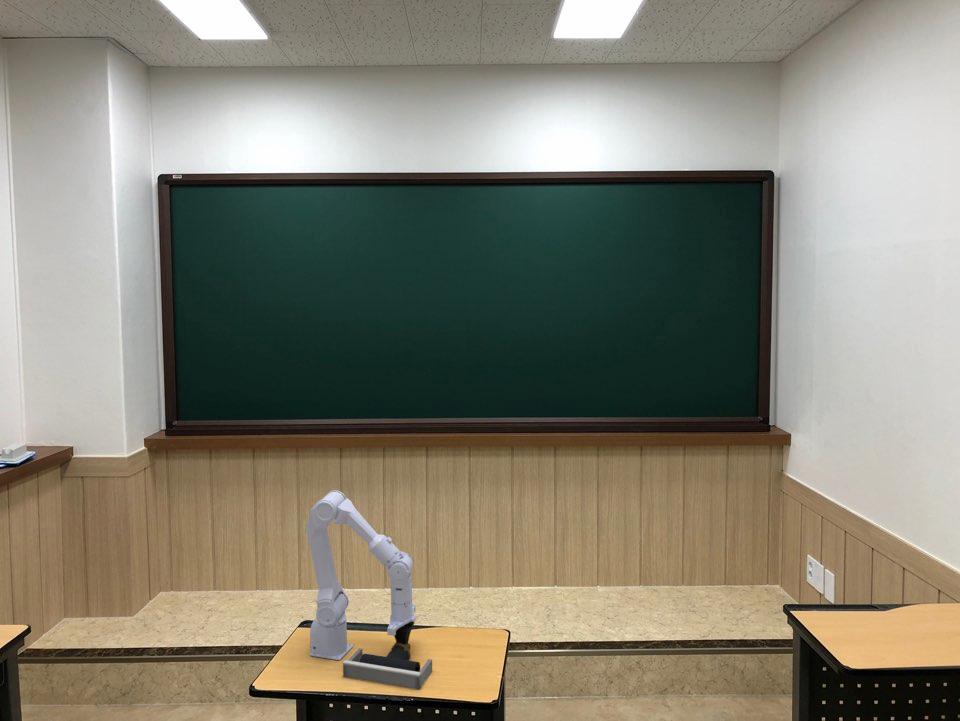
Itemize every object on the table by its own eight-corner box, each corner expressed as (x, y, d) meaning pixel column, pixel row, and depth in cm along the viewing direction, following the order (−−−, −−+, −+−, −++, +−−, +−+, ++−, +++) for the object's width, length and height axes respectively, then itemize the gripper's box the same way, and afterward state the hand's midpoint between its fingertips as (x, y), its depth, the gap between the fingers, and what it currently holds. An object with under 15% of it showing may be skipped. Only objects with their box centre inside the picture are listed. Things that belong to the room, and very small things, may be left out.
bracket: (343, 676, 171) (342, 662, 171) (359, 658, 180) (359, 644, 180) (419, 689, 165) (418, 674, 165) (432, 670, 174) (432, 656, 174)
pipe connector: (377, 636, 182) (429, 644, 177) (378, 655, 182) (429, 663, 178) (358, 659, 171) (412, 668, 167) (358, 678, 172) (413, 688, 167)
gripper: (404, 614, 172) (405, 664, 174) (425, 590, 186) (426, 637, 187) (379, 610, 174) (380, 660, 176) (401, 587, 188) (402, 634, 189)
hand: (402, 648), depth 182 cm, fingers closed
